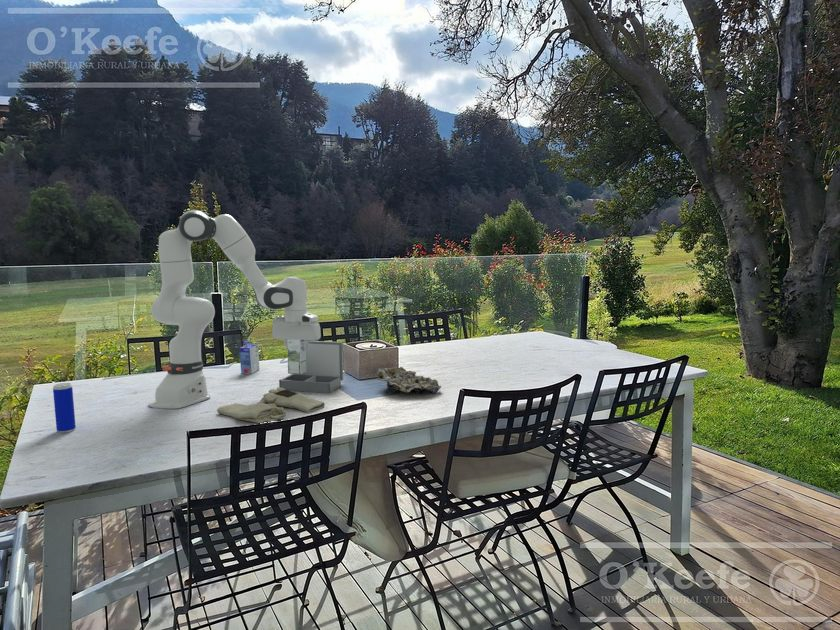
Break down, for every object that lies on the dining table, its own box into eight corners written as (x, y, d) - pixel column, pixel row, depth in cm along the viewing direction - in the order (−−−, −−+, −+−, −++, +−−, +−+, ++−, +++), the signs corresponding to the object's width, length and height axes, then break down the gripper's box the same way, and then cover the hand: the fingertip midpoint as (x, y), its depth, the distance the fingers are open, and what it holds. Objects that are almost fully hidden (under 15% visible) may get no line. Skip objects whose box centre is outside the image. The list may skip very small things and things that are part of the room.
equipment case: (330, 393, 224) (329, 348, 222) (279, 389, 230) (277, 345, 228) (343, 384, 238) (342, 342, 236) (295, 381, 243) (294, 340, 241)
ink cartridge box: (248, 369, 268) (247, 338, 266) (260, 369, 267) (258, 338, 265) (240, 374, 258) (238, 342, 256) (251, 374, 257) (250, 342, 255)
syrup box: (306, 372, 235) (306, 337, 234) (300, 374, 229) (299, 338, 228) (294, 371, 236) (293, 336, 235) (287, 374, 231) (286, 338, 229)
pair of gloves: (283, 396, 221) (282, 383, 221) (327, 408, 206) (327, 394, 205) (213, 415, 198) (212, 400, 197) (257, 430, 182) (257, 414, 182)
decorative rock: (399, 400, 212) (397, 373, 212) (369, 393, 234) (367, 369, 234) (447, 392, 223) (446, 366, 223) (415, 386, 245) (413, 363, 245)
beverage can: (79, 427, 184) (75, 382, 182) (69, 433, 178) (66, 386, 177) (62, 428, 183) (58, 382, 182) (53, 433, 178) (49, 386, 176)
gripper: (268, 316, 230) (269, 350, 231) (315, 318, 225) (316, 352, 226) (276, 315, 236) (277, 348, 237) (322, 316, 231) (322, 350, 232)
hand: (296, 350), depth 232 cm, fingers closed on syrup box, 6 cm apart
